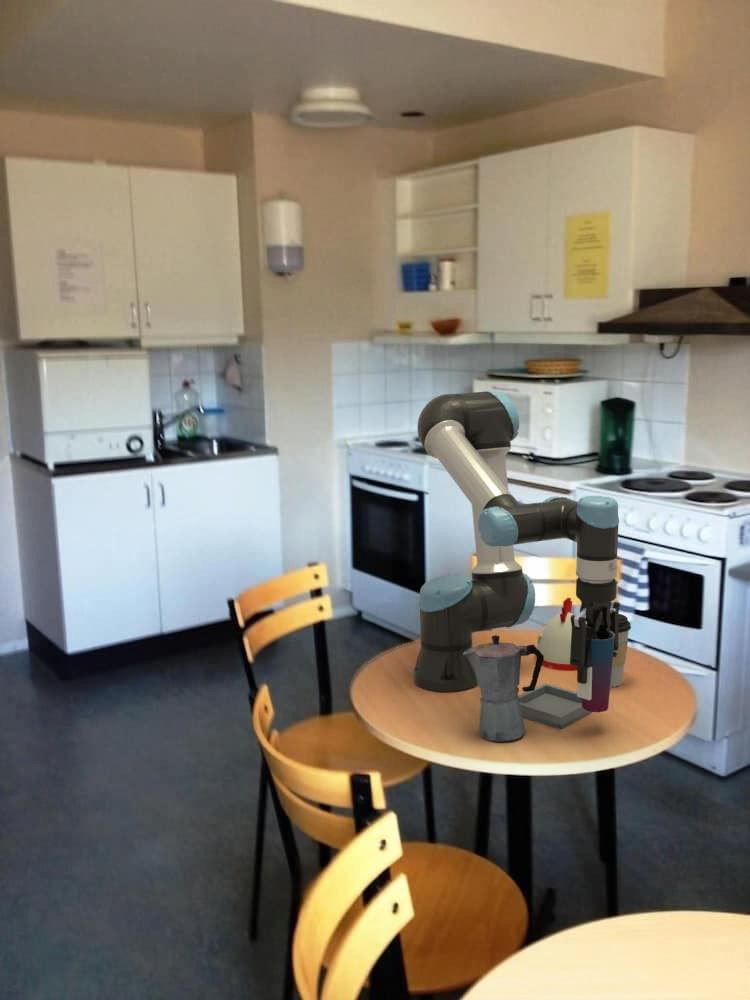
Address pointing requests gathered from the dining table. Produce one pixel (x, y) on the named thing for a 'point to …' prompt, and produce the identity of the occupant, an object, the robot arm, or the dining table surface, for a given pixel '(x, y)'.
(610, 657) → the cup
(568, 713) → the tray
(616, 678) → the coffee cup
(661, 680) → the dining table surface
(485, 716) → the moka pot
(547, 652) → the kitchen timer
